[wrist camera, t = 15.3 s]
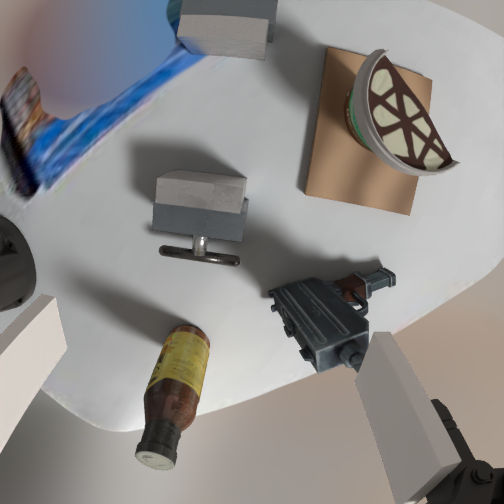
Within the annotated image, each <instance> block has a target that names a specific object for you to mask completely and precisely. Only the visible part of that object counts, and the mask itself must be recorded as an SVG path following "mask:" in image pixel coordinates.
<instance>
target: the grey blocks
mask: <svg viewBox="0 0 504 504" xmlns="http://www.w3.org/2000/svg"><path fill="white" fill-rule="evenodd" d="M277 4H278V0H183V2H182V6H181V11H180V15H179V19H180V23H179V27H178V32H177V37H178V38H179V40H180V41H181V42H182V43H183V44H184V45H185V46H186V47H187V49H188V50H189V51H190V52H191V53H192V54H193V55H214V56H228V57H239V58H248V59H257V60H265V55H266V49H267V42H272V40H273V34H274V27H275V21H276V13H277ZM246 183H247V178H243V177H235V176H228V175H220V174H212V173H203V172H194V171H185V170H175V171H172V172H170V173H167V174H165V175H162V176H160V177H157V185H156V199H155V200H154V205H153V225H152V230H159V231H166V232H174V233H181V234H188V235H193V244H192V249H187V248H180V247H173V246H167V245H163V246H161V247H160V248H159V253H160V254H161V255H162V256H167V257H174V258H180V259H187V260H193V261H200V262H207V263H214V264H220V265H227V266H234V267H236V266H238V265H239V264H240V258H239V257H238V256H235V255H228V254H221V253H215V252H208V251H207V242H208V237H209V238H216V239H223V240H230V241H237V242H242V238H243V233H244V228H245V222H246V215H247V208H248V201H249V200H247V199H244V197H245V190H246Z"/></svg>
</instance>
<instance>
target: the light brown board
mask: <svg viewBox="0 0 504 504" xmlns="http://www.w3.org/2000/svg"><path fill="white" fill-rule="evenodd" d="M366 58H367V57H365V56H362V55H358V54H355V53H351V52H347V51H343V50H339V49H335V48H331V47H328V48H327V49H326V55H325V63H324V70H323V78H322V85H321V92H320V99H319V105H318V112H317V119H316V125H315V131H314V138H313V144H312V150H311V156H310V162H309V168H308V174H307V179H306V185H305V191H304V194H305V195H308V196H314V197H319V198H325V199H330V200H336V201H341V202H346V203H352V204H357V205H362V206H367V207H372V208H376V209H381V210H386V211H391V212H395V213H400V214H404V215H409V216H410V212H411V208H412V204H413V200H414V195H415V191H416V186H417V182H418V177H419V176H414V175H408V174H405V173H402V172H399V171H397V170H395V169H393V168H391V167H390V166H389V165H387V164H386V163H384V162H383V161H382V160H381V159H380V158H379V157H378V156H377V155H375V153H373V152H371V151H368V150H366V149H365V148H363V147H362V146H361V145H359V144H358V143H357V142H356V141H355V139H354V138H353V137H352V136H351V134H350V132H349V130H348V128H347V125H346V123H345V117H344V104H345V99H346V95H347V93H348V92H349V90H350V88H351V87H352V85H353V84H354V82H355V79H356V76H357V73H358V70H359V69H360V67H361V65H362V63H363V62H364V61H365V60H366ZM393 66H394V65H393ZM394 67H395V69H396V70H397V71H398V73H399V74H400V75H401V77H402V78H403V80H404V81H405V82H406V84H407V85H408V86H409V88H410V89H411V90H412V92H413V93H414V94H415V95H416V97H417V98H418V99H419V101H420V102H421V104H422V105H423V106H424V108H425V110H426V111H427V113H428V115H429V109H430V100H431V90H432V80H431V79H428V78H426V77H423V76H421V75H418V74H416V73H413V72H411V71H408V70H405V69H402V68H399V67H397V66H394Z"/></svg>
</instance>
